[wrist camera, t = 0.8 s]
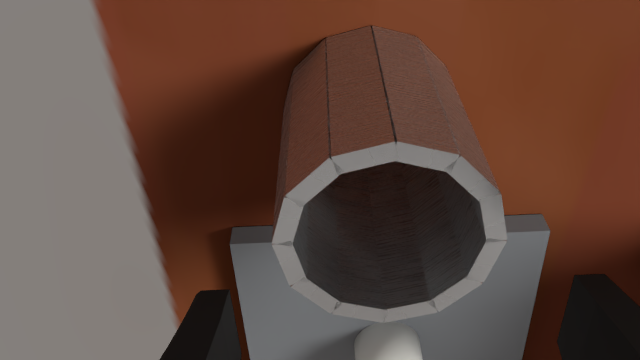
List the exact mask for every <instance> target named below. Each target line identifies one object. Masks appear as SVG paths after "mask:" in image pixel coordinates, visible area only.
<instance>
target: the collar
mask: <svg viewBox="0 0 640 360" xmlns="http://www.w3.org/2000/svg"><path fill="white" fill-rule="evenodd" d="M506 242H507V233H506V226H505V219H504V211H503V204H502V197H501V193H500V190H499V188H498V186H497V183H496V181H495V179H494V176H493V174H492V172H491V169H490V167H489V165H488V162H487V160H486V158H485V155H484V153H483V151H482V148H481V146H480V144H479V141H478V139H477V137H476V134H475V132H474V130H473V128H472V125H471V123H470V121H469V118H468V116H467V114H466V111H465V109H464V107H463V104H462V102H461V100H460V97H459V95H458V93H457V90H456V88H455V86H454V83H453V81H452V79H451V76H450V74H449V72H448V69H447V67H446V66H445V65H444V64H443V63H442V62H441V61H440V60H439V59H438V58H437V57H436V56H435V54H434V53H433V52H432V51H431V50H430V49H429V48H428V47H427V46H426V45H425V44H424V43H423V42H422V41H421V40H420V39H419V38H418V37H417V38H416V36H413V35H409V34H405V33H401V32H397V31H393V30H389V29H385V28H380V27H376V26H372V28H371V26H367V27H363V28H360V29H356V30H352V31H349V32H345V33H341V34H338V35H334V36H330V37H327V38H326V39H324V40H323V41H322V42H321V43H320V44H319V45H318V46H317V47H316V48H315V49H314V50H312V51H311V52H310V53H309V54H308V55H307V56H306V57H305V58H304V59H303V60H302V61H301V62H300V63H299V64H298V65H297V66H296V67H295V68H294V70H293V73H292V77H291V81H290V85H289V89H288V93H287V97H286V101H285V105H284V111H283V122H282V133H281V144H280V156H279V167H278V178H277V189H276V200H275V211H274V222H273V233H272V247H273V249H274V251H275V254H276V256H277V258H278V261H279V263H280V265H281V267H282V270H283V272H284V274H285V277H286V279H287V281H288V284H289V285H291V288H293V289H294V290H296V291H297V292H299V293H300V294H302V295H303V296H305V297H306V298H308V299H309V300H311V301H312V302H314V303H315V304H317V305H318V306H320V307H321V308H323V309H324V310H326V311H327V312H329V313H331V312H332V314H334V315H340V316H345V317H351V318H357V319H363V320H369V321H375V322H381V323H383V321H385V323H387V322H392V321H397V320H402V319H407V318H412V317H417V316H422V315H428V314H433V313H437V311H439V312H440V311H441V310H443V309H444V308H446V307H447V306H449V305H451V304H452V303H454V302H455V301H457V300H458V299H460V298H461V297H463V296H465V295H466V294H468V293H469V292H471V291H472V290H474V289H475V288H477V287H478V286H480V285H482V282H484V281H485V279H486V278H487V276H488V274H489V272H490V271H491V269H492V267H493V265H494V264H495V262H496V260H497V258H498V256H499V255H500V253H501V251H502V249H503V248H504V246H505V244H506Z"/></svg>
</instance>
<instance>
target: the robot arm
mask: <svg viewBox="0 0 640 360" xmlns="http://www.w3.org/2000/svg"><path fill="white" fill-rule="evenodd" d="M557 342H558V346H559V350H560V353H561V357H562V360H640V307H639V306H638V305H637V304H636V303H635V302H634V301H633V300H632V299H631V298H630V297H628V296H627V295H626V294H625V293H624V292H623V291H622V290H621V289H620V288H619V287H618V286H617V285H616V284H615V283H614V282H613V281H612V280H610V279H609V278H608V277H607V276H606V275H605V274H590V275H575V276H574V279H573V283H572V287H571V291H570V294H569V298H568V302H567V306H566V310H565V313H564V317H563V321H562V325H561V328H560V332H559V336H558V340H557ZM160 360H241V348H240V343H239V338H238V333H237V327H236V322H235V317H234V311H233V306H232V301H231V296H230V290H206V291H200V292H199V293H198V294H197V295H196V296H195V298H194V300H193V302H192V304H191V306H190V308H189V310H188V312H187V314H186V316H185V317H184V319H183V321H182V323H181V325H180V326H179V328H178V330H177V332H176V333H175V335H174V337H173V339H172V340H171V342H170V344H169V345H168V347H167V349H166V350H165V352H164V353H163V355H162V357H161V358H160Z"/></svg>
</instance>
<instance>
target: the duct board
mask: <svg viewBox="0 0 640 360" xmlns="http://www.w3.org/2000/svg"><path fill="white" fill-rule="evenodd" d="M504 219H505V226H506V233H507V242H506V244H505V246H504V248H503V249H502V251H501V253H500V255H499V256H498V258H497V260H496V262H495V264H494V265H493V267H492V269H491V271H490V272H489V274H488V276H487V278H486V279H485V281H484V282H482V285H480V286H478V287H477V288H475V289H474V290H472V291H471V292H469V293H468V294H466V295H465V296H463V297H461V298H460V299H458V300H457V301H455V302H454V303H452V304H451V305H449V306H447V307H446V308H444V309H443V310H441V311H440V312H439V311H437V313H433V314H428V315H422V316H417V317H412V318H407V319H402V320H397V321H392V322H387V323H385V321H383V323H381V322H375V321H369V320H363V319H357V318H351V317H345V316H340V315H334V314H332V312H331V313H329V312H327V311H326V310H324V309H323V308H321V307H320V306H318V305H317V304H315V303H314V302H312V301H311V300H309V299H308V298H306V297H305V296H303V295H302V294H300V293H299V292H297V291H296V290H294V289H293V288H291V285H289V284H288V281H287V279H286V277H285V274H284V272H283V270H282V267H281V265H280V263H279V261H278V258H277V256H276V254H275V251H274V249H273V247H272V233H273V226H253V227H233V228H232V234H231V239H230V249H231V255H232V260H233V266H234V272H235V277H236V283H237V288H238V294H239V300H240V305H241V311H242V316H243V322H244V328H245V333H246V339H247V344H248V350H249V356H250V360H522V357H523V352H524V348H525V343H526V338H527V334H528V329H529V325H530V320H531V316H532V311H533V307H534V302H535V298H536V293H537V289H538V284H539V280H540V275H541V270H542V266H543V261H544V257H545V252H546V248H547V243H548V239H549V234H550V229H549V227H548V225H547V223H546V221H545V219H544V217H543V215H542V214H533V215H510V216H504Z"/></svg>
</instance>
